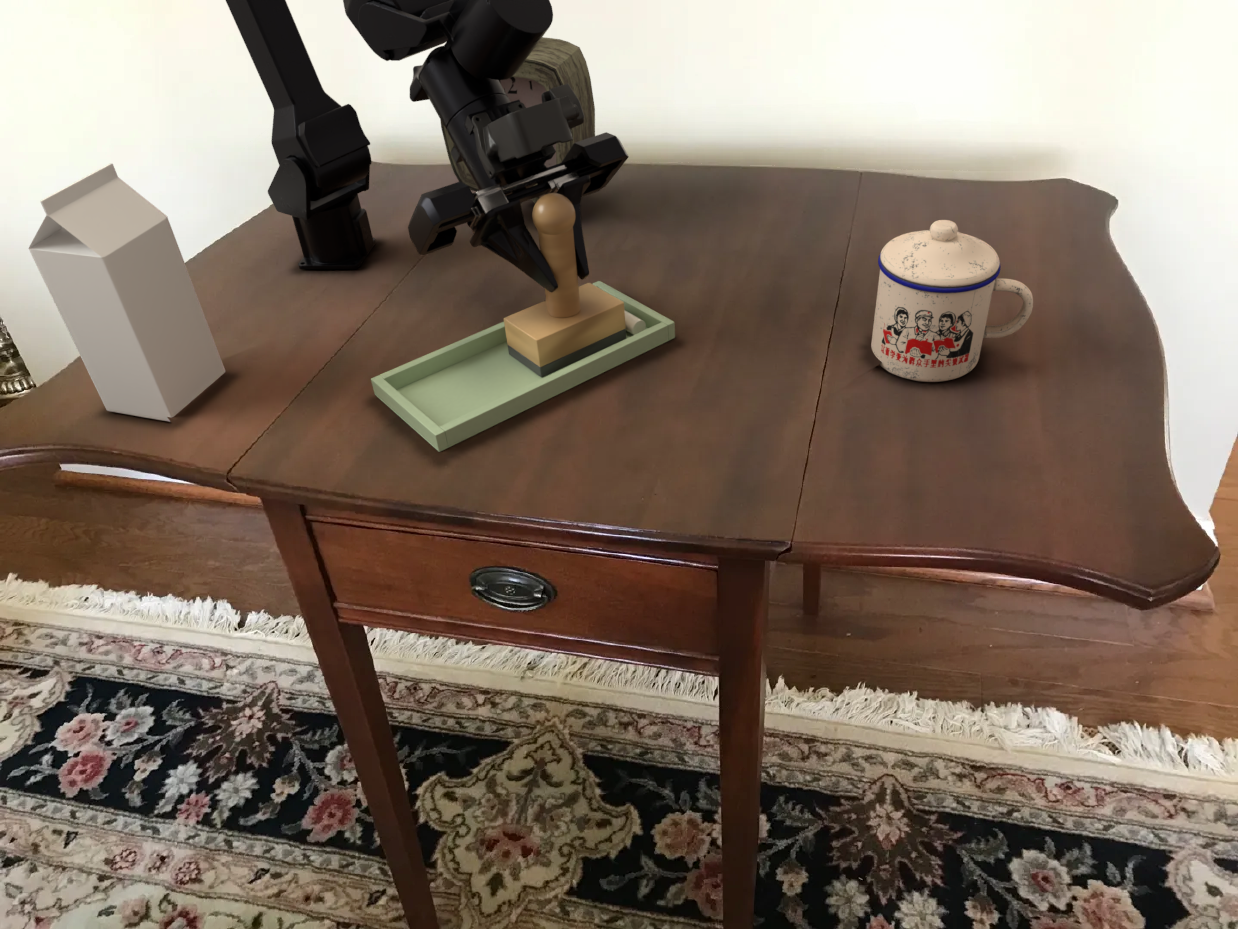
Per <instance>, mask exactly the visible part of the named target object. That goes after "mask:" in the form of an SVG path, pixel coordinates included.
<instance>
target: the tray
mask: <svg viewBox="0 0 1238 929" xmlns="http://www.w3.org/2000/svg"><path fill="white" fill-rule="evenodd" d="M592 284H593V285H595V286H596V287H598V288H600V289H602V290H603V291H605V292H607V293H609V294H610V295H612V296H614V297H616V298H617V299H619V300H621V301H623V302H624V310H625V311H627V312H629V313H631V314H632V315H634V316H636V317H638V318H639V319H641V320H643V321H644V322H645V324H646V328H645V330H644V331H642V332H640V333H638V334H635V335H632V334H631V333H629V332H627V331H626V339H624V340H622V341H620V342H618V343H616V344H613V345H611V346H609V347H607V348H605V349H602V350H600V351H598V352H596V353H594V354H592V355H589V356H587V357H585V358H583V359H581V360H579V361H576V362H574V363H572V364H570V365H568V366H566V367H563V368H561V369H559V370H557V371H555V372H553V373H550V374H548V375H546V376H544V377H540V376H539V375H537V374H536V373H534V372H533V371H532V370H530V369H529V368H527V367H526V366H525V365H523V364H522V363H520V362H519V361H518V360H516V359H515V358H513V357H512V356H511V355H509V351H508V344H507V338H506V331H505V325H504V321H502V322H499V323H497V324H495V325H492V326H490V327H488V328H485V329H483V330H480V331H478V332H476V333H474V334H471V335H470V336H467V337H464V338H462V339H460V340H458V341H455V342H453V343H451V344H449V345H446V346H443V347H441V348H439V349H436V350H434V351H432V352H430V353H427V354H425V355H422V356H420V357H417V358H415V359H413V360H410V361H409V362H406V363H403V364H401V365H399V366H397V367H395V368H392V369H390V370H387V371H385V372H383V373H381V374H378V375H376V376H374V377H372V378H370V382H371V386H372V389H373V393H374V396H376V398H378V399H379V400H380V401H381V402H382V403H383V404H385V405H386V406H387V407H388V408H389V409H390V410H391V411H392V412H394V413H395V414H396V415H397V416H398V417H399V418H401V420H403V421H404V422H405V423H406V424H407V425H408V426H409V427H410V428H411V429H413V430H414V431H415V432H416V433H417V434H418V435H419V436H421V437H422V438H423V439H424V440H425V441H426V442H427V443H428V444H430V446H432V447H433V448H434V449H435V450H436V451H437V452H439V453H440V452H442V451H444V450H446V449H448V448H451V447H452V446H455V445H457V444H459V443H462V442H463V441H465V440H467V439H469V438H472V437H473V436H476V435H477V434H479V433H482V432H483V431H486V430H488V429H490V428H492V427H493V426H496V425H499V424H500V423H502V422H504V421H507V420H508V419H510V418H512V417H515V416H517V415H519V414H521V413H522V412H524V411H527V410H528V409H531V408H534V407H535V406H537V405H539V404H541V403H543V402H545V401H547V400H549V399H552V398H553V397H555V396H558V395H560V394H562V393H564V392H566V391H568V390H570V389H572V388H574V387H576V386H578V385H580V384H582V383H584V382H586V381H589V380H591V379H593V378H595V377H597V376H599V375H601V374H603V373H604V372H607V371H609V370H612V369H613V368H615V367H618V366H620V365H622V364H624V363H626V362H628V361H630V360H632V359H634V358H636V357H639V356H640V355H642V354H645V353H646V352H649V351H651V350H652V349H654V348H656V347H658V346H661V345H663V344H665V343H667V342H669V341H671V340H673V339H675V338H676V327H675V326H676V325H675V324H676V323H675V321H674V320H672V319H670V318H668V317H667V316H664V315H663V314H661V313H659V312H657V311H655V310H654V309H652V308H650V307H648V306H647V305H645V304H643V303H641V302H640V301H637V300H636V299H634V298H632V297H630V296H628V295H626V294H625V293H623V292H621V291H619V290H617V289H616V288H614V287H612V286H610V285H608V284H606V283H605V282H603V281H601V280H597V281H595V282H593V283H592Z"/></svg>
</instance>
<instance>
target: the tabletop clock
mask: <svg viewBox="0 0 1238 929" xmlns="http://www.w3.org/2000/svg"><path fill="white" fill-rule="evenodd" d="M499 82H500V83H501V85H502V87H503V89H504V91H505V93H506V94H507V96H508V98H509V100H510V102H512V101H516V100H520V102H522V103H523V104H524V105H525V107H526V108H528V107H531V106H534V105H537V104H541V103H542V93H544V92H546V91H549V90H550V89H551V88H554V87H558V86H561V85H565V84H569V86H570V87H571V89H572V90H573V92H574V93H575V95H576V96H577V98H578V99H579V101H580V104H581V107H582V110H583V113H584V122H583V124H581V125H579V126H576V127H574V128H571V129H570V132H571V135H572V138H573V140H571V141H569V142H565V143H560V142H559V143H557V144H554V145H553V147H554V149H555V150H556V152H555V154H554V155H553V157H552V158H551V159H549V160H547V161H546V162H545V165H546V167H547V168H548V167H551V166H554V165H556V164H559V163H561V162H562V160H563V159H564V158H565V156H566V155H567V153H568V152H569V150H570V149H571V147H572V146H573V144H574V143H576V142H579V141H582V140H585V139H588V138H591V137H594V136H596V107H595V100H594V94H593V86H592V79H591V74H590V71H589V66H588V63H587V60H586V57H585V56H584V54H583V52H582V50H581V47H580V46H578V45H577V44H576V45H575V44H574V43H571V42H569V41H567V40H563V39H560V38H553V37H544V36H543V37H542V38H541V39H540V41H539V42H538V43H537V45H536V46H535V48H534V49H533V50H532V52H531V53H530V54H529V56H528V57H527V58H526V60H525V61H524V63H523V64H522V65H521V67H520V68H519V69H518V71H517V72H516V73H515V74H514V75H513V76H512V77H511V78H509V79H505V80H499ZM440 129H441V133H442V136H443V140H444V141H443V142H444V145H445V149H446V153H447V156H448V157H447V158H448V160H449V163H450V166H451V168H452V171H453V174H454V176H455V177H456V179H457V182H462V183H464V184H466V185H467V186H469V188H470V190H471V191H472V192H477V190H478V187H477V186H476V184H475V182H474V180H473V178H472V176H471V175H470V173H469V171H468V169H467V167H466V166H465V164H464V162H463V161H462V162H459V163H456V162H455V160H454V159H453V157H452V155H451V151H452V148H453V146H454V144H453V142H452V140H451V138H450V136H449V134H448V133H447V131H446V129H445V127H444V125H443V123H442V121H441V120H440ZM535 185H538V184H535ZM535 185H534V186H535ZM538 199H539V197H536V198H533V199H531V201H532V202H533V203H534V204H535V203H536V202H537V201H538Z"/></svg>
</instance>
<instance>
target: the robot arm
mask: <svg viewBox="0 0 1238 929" xmlns="http://www.w3.org/2000/svg"><path fill="white" fill-rule="evenodd" d="M225 2H226V5H227V7H228V9H229V11H230V13H231V15H232V16H231V17H232V19H233V21H234V22H235V25H236V27H237V29H238V32H239V34H240V36H241V38H242V41H243V43H244V44H245V47H246V49H247V51H248V54H249V56H250V58H251V60H252V63H253V65H254V68H255V69H256V72H257V74H258V76H259V79H260V80H261V83H262V85H263V87H264V89H265V91H266V93H267V95H268V98H269V101H270V103H271V105H272V109H273V116H272V129H271V141H270V142H271V147H272V149H273V152H274V154H275V157H276V160H277V163H278V167H277V170H276V171H275V174H274V176H273V179H272V180H271V183H270V184H269V186H268V189H267V195H268V196H269V198H270V201H271V202H272V204H273V206H274V208H275V210H276V211H277V212H279V213H281V214H284V215H288V216H290V217H291V218H292V222H293V226H294V228H295V232H296V235H297V239H298V242H299V245H300V249H301V253H302V255H303V257H302V258H301V259H300V261H299V262H298V264H297V265H298V268H299V270H356V269H358V268H360V267H361V266H362V264H363V262H364V261H365V259H366V258H367V256H368V255H369V253H370V252H371V251H372V249H373V248H374V247H375V245H376V243H377V240H376V237H373V233H372V229H371V225H370V221H369V218H368V217H369V216H368V212H367V210H366V209H365V208H362V206H361V201H360V198H359V197H360V196H359V194H360V193H363V192H366V191H368V190H370V178H371V176H370V172H371V165H372V163H373V162H372V154H371V151H370V147H369V146H370V145H371V142H370V140H369V139H368V137H367V136H366V134H365V132H364V130H363V128H362V125H361V123H360V119H359V116H358V112H357V110H356V109H355V108H354V107H353V106H352V105H351V104H350V103H346V104H344V105H341V104H340V103H338V102H337V101H336V100H335V99H334V98H333V97H331V96H330V95H329V94H328V93H327V92H326V91H325V89H324V88H323V86H322V83H321V80H320V79H319V76H318V74H317V71H316V69H315V66H314V65H313V62H312V60H311V57H310V54H309V52H308V50H307V48H306V45H305V43H304V40H303V38H302V36H301V33H300V31H299V28H298V26H297V24H296V22H295V19H294V17H293V15H292V12H291V10H290V8H289V5H288V3H287V1H286V0H225ZM342 3H343V8H344V13H345V16H346V17H347V19H348V20H349V21H350V22H351V24H352V25H353V26H354V28H355V29H356V31H357V32H358V34H359V35H360V36H361V37H362V39H363V41H364V42H365V43H366V45H367V46H368V47H369V49H370V50H371V51H372V52H373V53H374V54H375V55H377V56H378V57H379V58H380V59H382V60H383V61H386V62H389V61H391V62H393V61H394V62H395V61H397V62H398V61H402V60H405V59H407V58H411V57H412V56H415V55H417V54H420V53H424V52H426V51H428V50H430V49H432V50H431V51H430V52H429V53H428V55H427V56H426V58H425V59H424V62H423V63H422V64H419V65H414V66H413V68H412V73H413V74H412V79H411V80H412V81H411V83H410V85H409V99H410V101H411V102H413V103H416V102H422V101H427V100H429V101H430V103H431V105H432V107H433V108H434V111H435V112H436V115H437V116H438V117H439V119H440V120H441V121H442V123H443V125H444V127H445V129H446V131H447V133H448V134H449V136H450V138H451V140H452V142H453V144H454V146H453V148H452V151H451V155H452V157H453V159H454V160H455V162H456V163H459V162H462V161H463V162H464V164H465V166H466V167H467V169H468V171H469V173H470V175H471V176H472V178H473V180H474V182H475V184H476V186H477V187H478V190H477V192H476V191H474V192H473V191H472V190H470V188H469V186H467V185H466V184H464V183H462V182H459V181H456V182H454V183H451V184H448V185H445V186H442V187H439V188H436V189H433V190H430V191H427V192H424V193H421V195H420V197H419V199H418V202H417V204H416V206H415V209H414V211H413V212H412V216H411V217H410V220H409V223H408V226H407V230H408V234H409V235H408V236H409V239H410V240H411V241H412V244H413V246H414V248H415V250H416V251H417V253H418V255H419V256H427V255H429V254H432V253H435V252H438V251H441V250H443V249H446V248H448V247H451V246H453V244H454V242H455V239H456V235H457V234H458V233H457V232H458V230H457V228H456V227H458V226H461V225H463V224H466V223H467V225H468V227H469V228H470V230H471V232H472V233H473V234H472V236H471V238H470V239H469V244H470V245H471V247H472V248H477V247H484V248H486V249H487V250H488V251H490V252H492V253H494V254H496V255H497V256H499V257H500V258H502V259H504V260H505V261H506V262H509V263H510V264H512V265H513V266H514V267H516V268H517V269H518V270H520V271H521V272H522V273H524V274H525V275H526V276H528V277H529V278H530V279H532V280H533V281H534V282H536V283H537V284H538V285H539V286H541V287H542V288H544V290H545V289H546V290H548V291H549V292H551V293H552V292H554V291H556V289H557V288H558V284H557V281H556V279H555V277H554V275H553V272H552V270H551V268H550V266H549V265H548V263H547V261H546V260H545V258H544V256H543V255H542V253H541V251H540V247H539V246H538V244H537V243H536V241H535V239H534V238H533V236H532V234H531V232H530V230H529V228H528V227H527V225H526V222H525V218H524V213H523V208H522V205H521V204H522V203H525V202H527V201H530V200H532V199H533V198H536V197H539V199H540V198H541V197H542V196H544V195H546V194H549V193H558V194H561V195H563V196H565V197H566V198H568V199H569V200H570V201H571V203H572V204H573V206H574V209H575V215H576V217H575V223H574V225H573V234H574V244H575V255H576V265H577V276H578V279H580V280H581V281H582V280H586V279H587V278H588V277H589V275H590V269H589V262H588V257H587V250H586V244H585V238H584V232H583V226H582V216H581V215H582V214H581V203H582V198H584V197H587V196H589V195H592V194H594V193H597V192H599V191H601V190H602V189H604V188H605V187H607V185H609V183H610V182H611V180H612V179H613V178H614V176H615V175H616V174H617V173H618V171H619V170H620V169H621V167H622V166H623V165H624V164H625V163H626V162H627V160H628V158H629V154H628V152H627V151H626V149H625V147H624V145H623V144H622V142H621V140H620V138H619V137H617V136H616V135H615V134H612V133H610V132H607V131H606V132H603V133H600V134H597V135H595V136H594V137H591V138H588V139H585V140H582V141H579V142H576V143H574V144H573V146H572V147H571V149H570V150H569V152H568V153H567V155H566V156H565V158H564V159H563V160H562V162H561V163H559V164H556V165H554V166H551V167H548V168H547V167H546V165H545V162H546V161H547V160H549V159H551V158H552V157H553V155H554V154H555V152H556V150H555V149H554V147H553V145H554V144H557V143H559V142H560V143H565V142H569V141H571V140H573V138H572V135H571V132H570V129H571V128H574V127H576V126H579V125H581V124H583V122H584V113H583V110H582V107H581V104H580V101H579V99H578V98H577V96H576V95H575V93H574V92H573V90H572V89H571V87H570V86H569V84H565V85H561V86H558V87H554V88H551V89H550V90H549V91H546V92H544V93H542V103H541V104H537V105H534V106H531V107H528V108H526V107H525V105H524V104H523V103H522V102H520V100H516V101H512V102H510V100H509V98H508V96H507V94H506V93H505V91H504V89H503V87H502V85H501V83H500V82H499V80H505V79H509V78H511V77H512V76H513V75H514V74H515V73H516V72H517V71H518V69H519V68H520V67H521V65H522V64H523V63H524V61H525V60H526V58H527V57H528V56H529V54H530V53H531V52H532V50H533V49H534V48H535V46H536V45H537V43H538V42H539V41H540V39H541V38H542V37H544V36H545V34H546V33H547V31H549V29H550V27H551V26H552V23H553V20H554V11H553V6H552V4H551V1H550V0H342ZM433 48H434V49H433ZM441 121H440V122H441ZM535 184H538V185H535ZM534 185H535V186H534Z"/></svg>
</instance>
